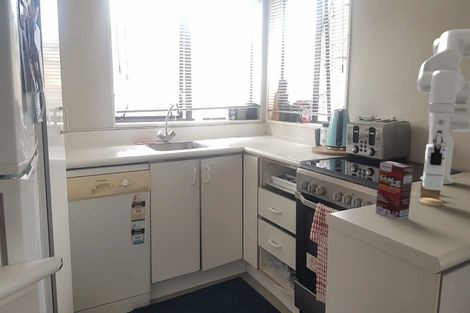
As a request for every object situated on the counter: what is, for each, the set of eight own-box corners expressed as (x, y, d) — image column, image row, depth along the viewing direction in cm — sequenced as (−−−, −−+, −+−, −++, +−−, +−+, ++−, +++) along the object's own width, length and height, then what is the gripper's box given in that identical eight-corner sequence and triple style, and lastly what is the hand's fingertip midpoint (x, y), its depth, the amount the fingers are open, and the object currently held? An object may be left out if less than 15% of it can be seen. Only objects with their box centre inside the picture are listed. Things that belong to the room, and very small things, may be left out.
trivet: (419, 199, 136) (419, 196, 136) (441, 202, 133) (441, 199, 133) (419, 204, 130) (419, 201, 130) (442, 207, 127) (442, 204, 127)
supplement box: (374, 212, 119) (379, 161, 117) (385, 210, 122) (389, 160, 119) (398, 220, 112) (403, 166, 109) (409, 218, 114) (414, 165, 112)
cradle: (420, 191, 148) (421, 178, 147) (437, 193, 145) (439, 180, 144) (420, 197, 139) (422, 184, 138) (439, 200, 136) (441, 186, 135)
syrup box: (442, 190, 127) (448, 147, 125) (423, 188, 129) (428, 145, 127) (440, 187, 132) (445, 145, 130) (421, 185, 134) (426, 143, 132)
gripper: (456, 110, 117) (449, 168, 120) (452, 109, 133) (445, 161, 136) (429, 109, 120) (422, 166, 123) (427, 108, 136) (422, 158, 139)
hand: (434, 163), depth 129 cm, fingers closed on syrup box, 6 cm apart
